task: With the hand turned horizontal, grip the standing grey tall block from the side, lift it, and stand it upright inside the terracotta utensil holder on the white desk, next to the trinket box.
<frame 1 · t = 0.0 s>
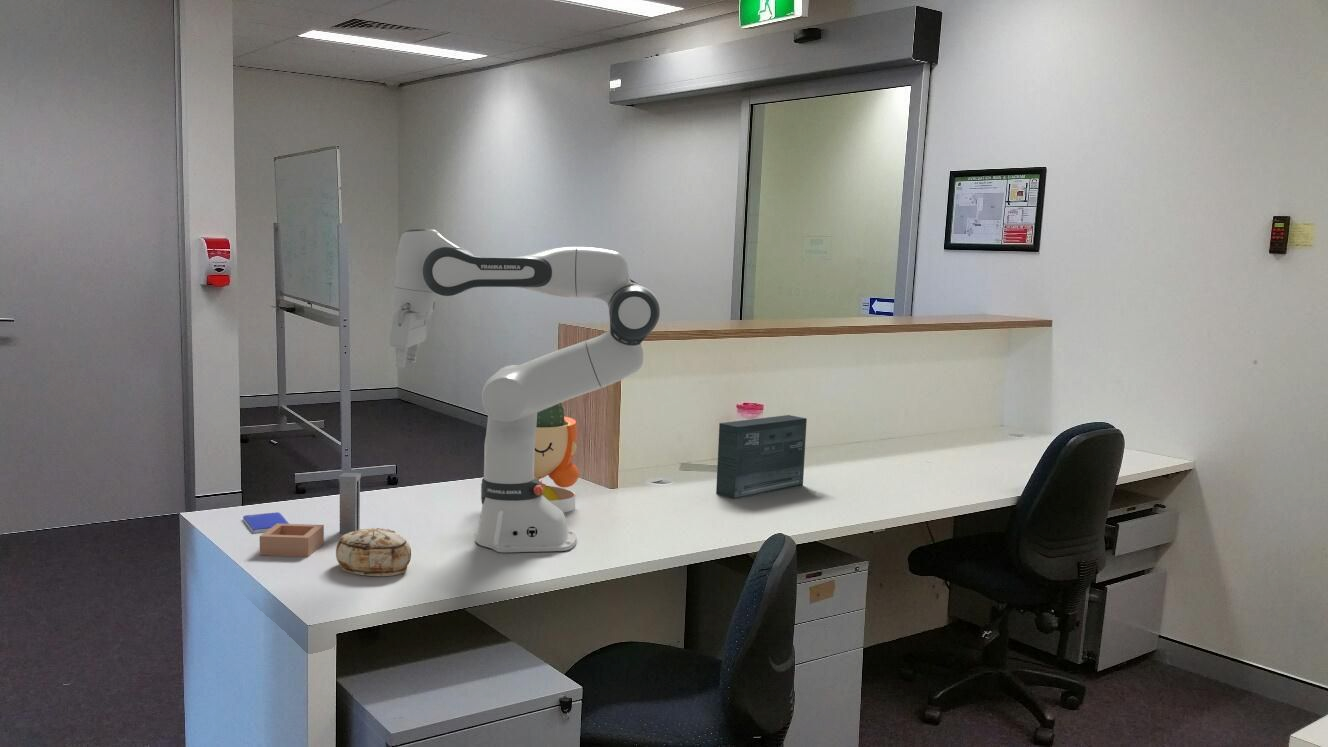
hand: (405, 365, 218), 39 cm above the table, tool pointing down, fingers open, 8 cm apart
holder: (292, 548, 211), on the table
grey tall block: (349, 531, 225), on the table
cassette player: (760, 490, 284), on the table
potted cactus: (537, 503, 258), on the table
trinket box: (373, 569, 201), on the table
hard drive: (267, 527, 229), on the table
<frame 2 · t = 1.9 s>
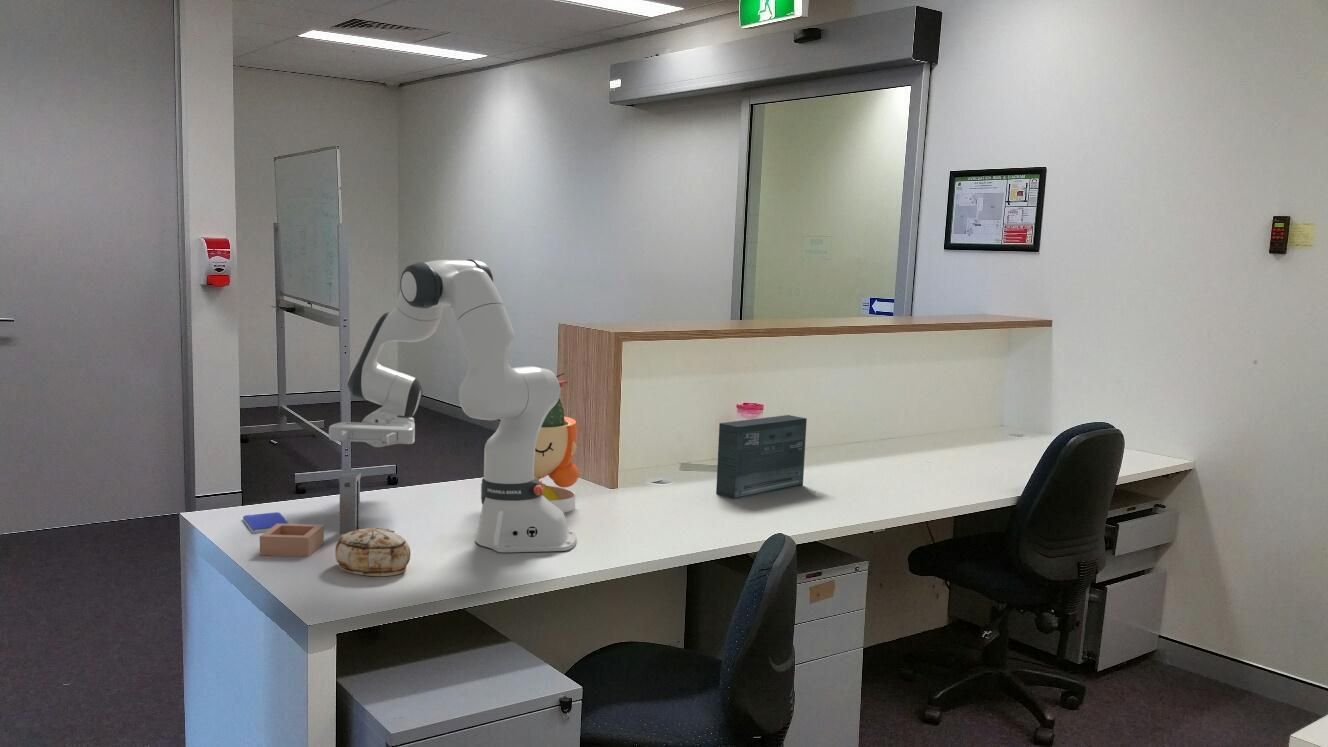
hand: (364, 439, 235), 19 cm above the table, tool horizontal, fingers open, 8 cm apart
nothing on the table moved.
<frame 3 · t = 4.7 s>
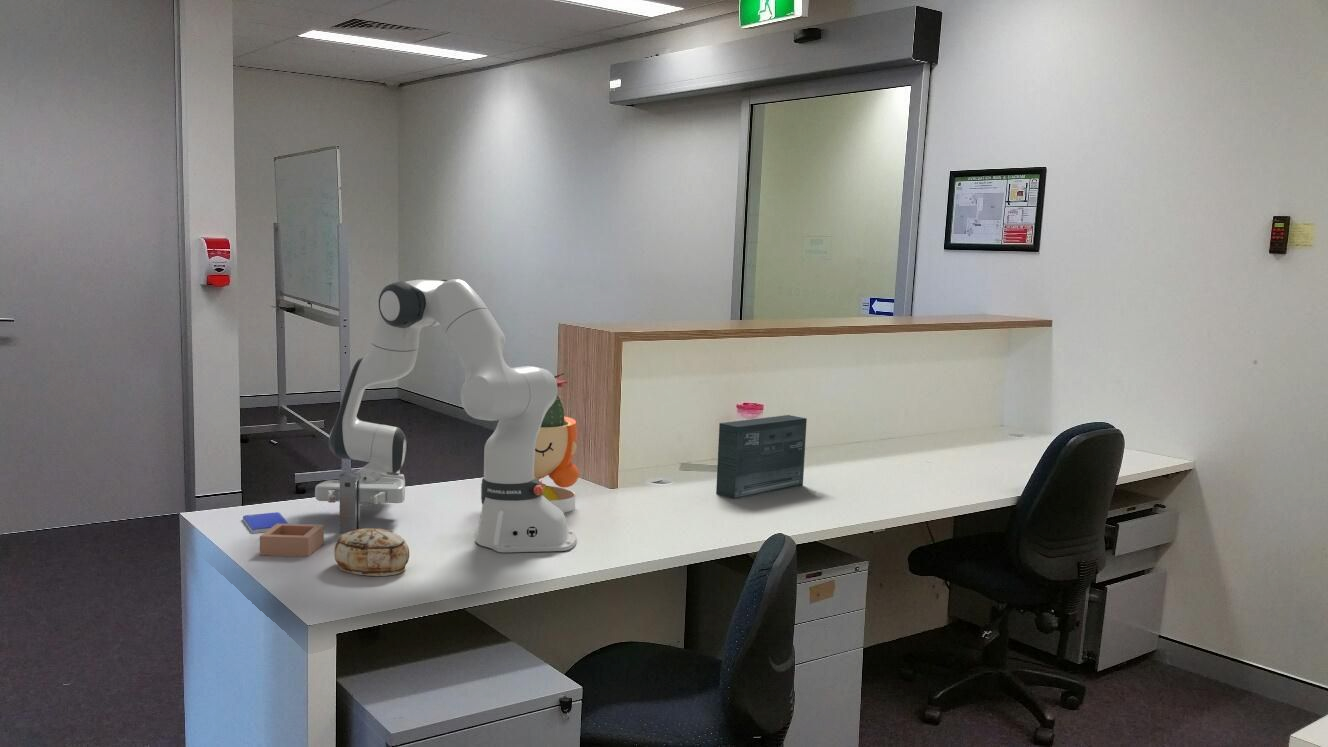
hand: (351, 499, 226), 7 cm above the table, tool horizontal, fingers open, 8 cm apart
nothing on the table moved.
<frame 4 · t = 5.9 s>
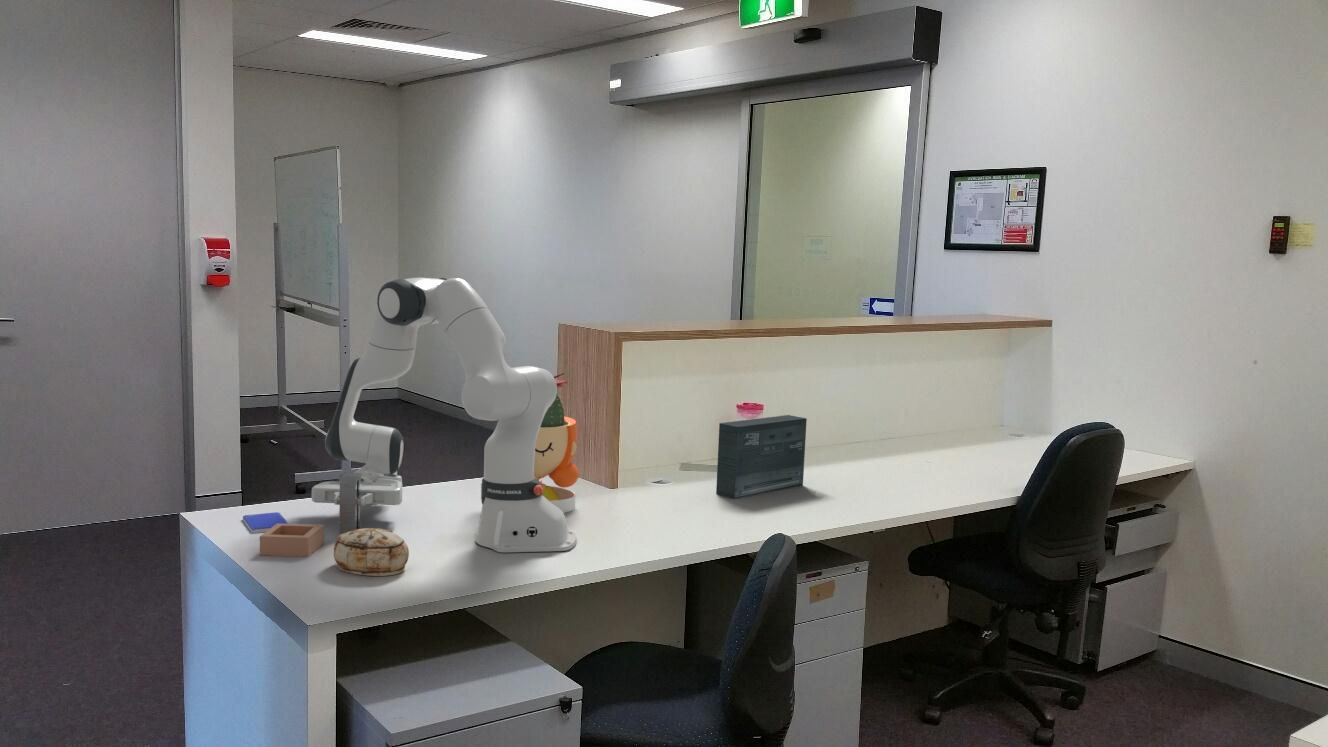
hand: (348, 501, 223), 7 cm above the table, tool horizontal, fingers closed on grey tall block, 3 cm apart
grey tall block: (349, 531, 225), on the table, touching gripper
everything else where it was.
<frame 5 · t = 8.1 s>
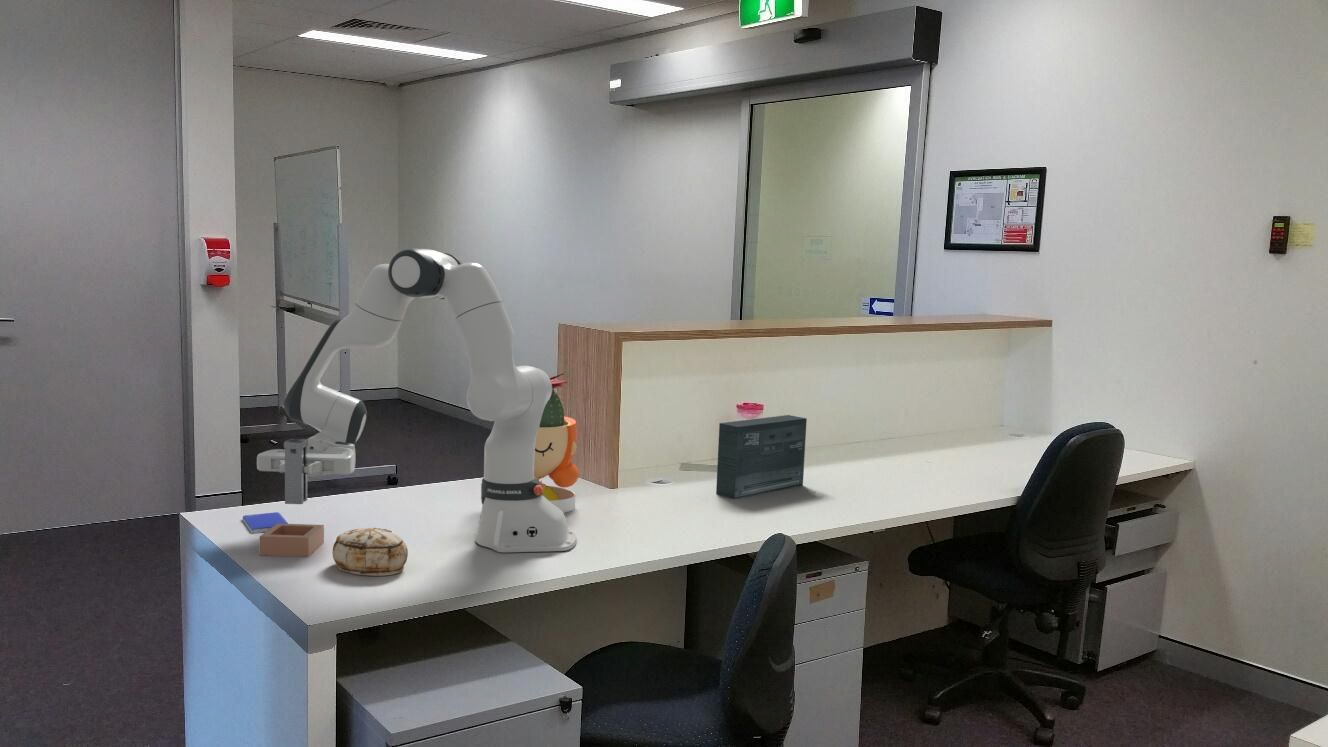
hand: (294, 469, 209), 17 cm above the table, tool horizontal, fingers closed on grey tall block, 3 cm apart
grey tall block: (296, 502, 211), point 10 cm above the table, touching gripper
everything else where it was.
when the fingers open (9 cm above the table, at t = 10.4 s): grey tall block stays where it is, resting on holder.
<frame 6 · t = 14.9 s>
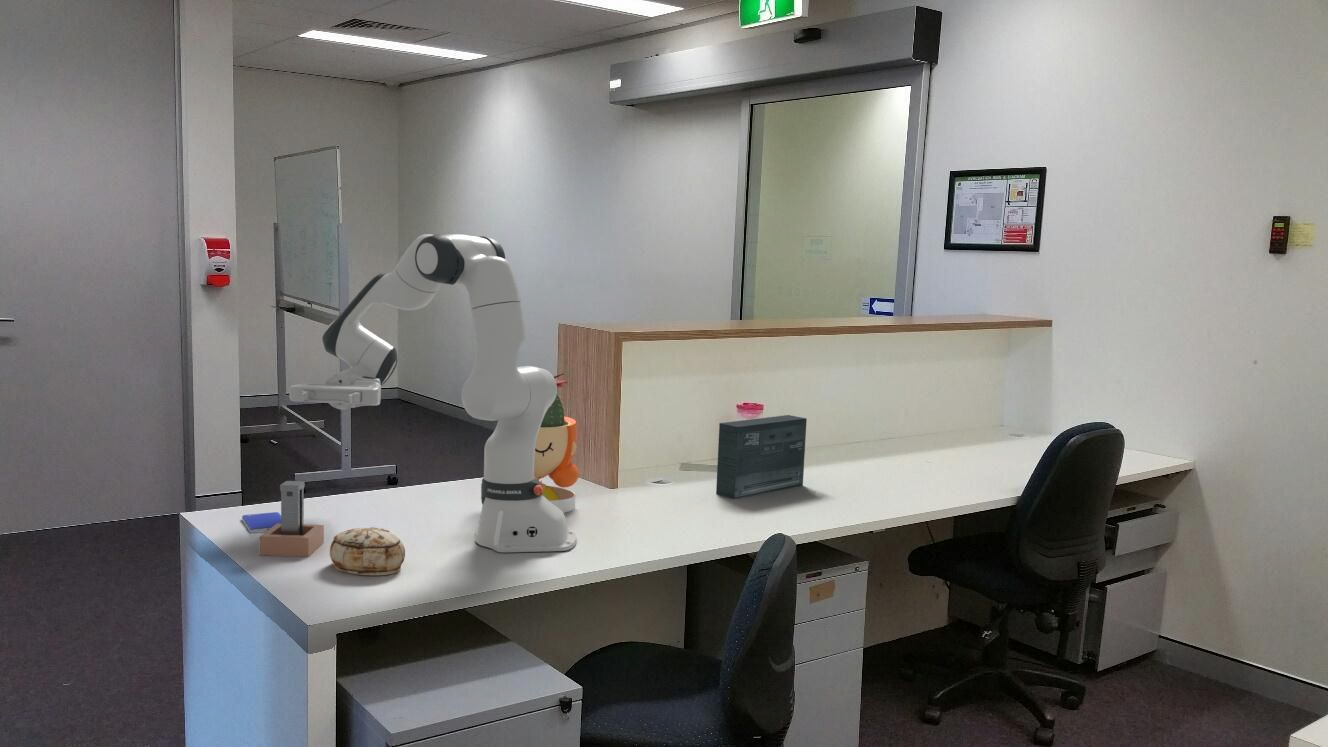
hand: (325, 398, 224), 30 cm above the table, tool horizontal, fingers open, 8 cm apart
grey tall block: (292, 544, 211), point 1 cm above the table, touching holder
at the end: grey tall block 0.0 cm off-centre on the holder, point 1.0 cm above the holder's base; grey tall block tilted 0°; grey tall block touching holder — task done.
